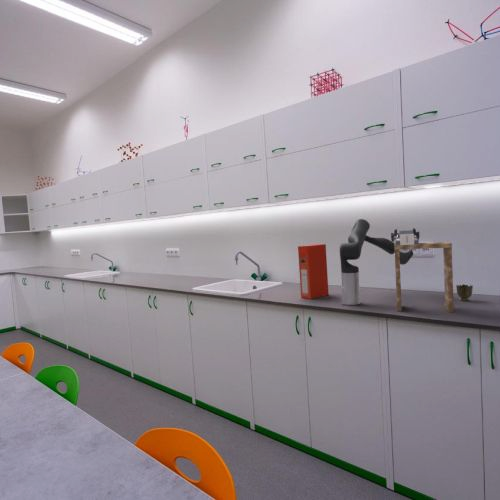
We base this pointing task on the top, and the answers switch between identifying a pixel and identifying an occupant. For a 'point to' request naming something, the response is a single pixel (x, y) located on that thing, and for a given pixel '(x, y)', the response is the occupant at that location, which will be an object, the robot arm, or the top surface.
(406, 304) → the top surface
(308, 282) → the file binder
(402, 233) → the block
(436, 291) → the top surface
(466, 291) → the cup
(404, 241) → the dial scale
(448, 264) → the oak shelf
